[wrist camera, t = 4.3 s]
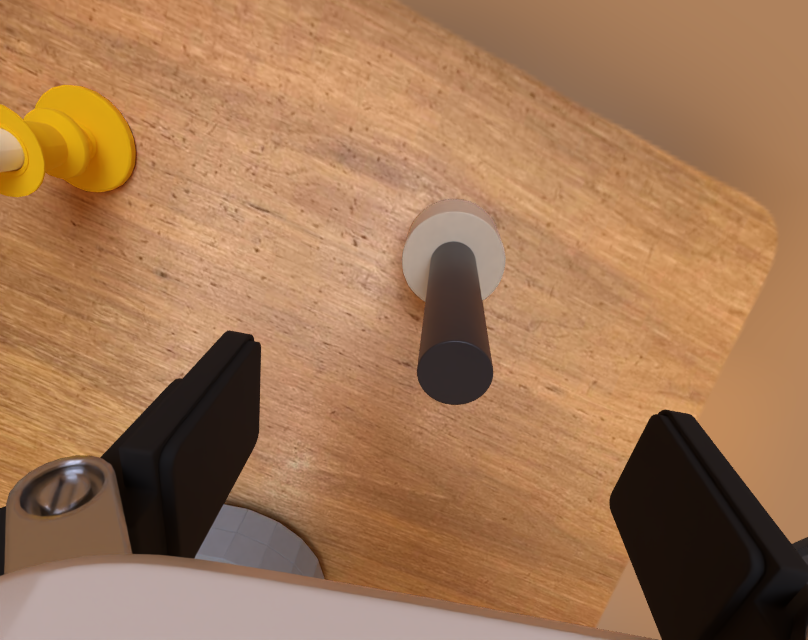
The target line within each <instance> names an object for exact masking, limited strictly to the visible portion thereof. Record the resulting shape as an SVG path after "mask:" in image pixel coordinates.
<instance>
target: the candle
mask: <svg viewBox="0 0 808 640" xmlns="http://www.w3.org/2000/svg"><path fill="white" fill-rule="evenodd" d="M135 158H136V150H135V143H134V138H133V136H132V133H131V130H130V128H129V125H128V124H127V122H126V120H125V119H124V117H123V116H122V114H121V113H120V111H119V110H118V109H117V108H116V107H115V106H114V105H113V104H112V103H111V102H110V101H109V100H108V99H106V98H105V97H103V96H102V95H100V94H99V93H97V92H96V91H93V90H91V89H88V88H85V87H83V86H73V85H62V86H58V87H53V88H51V89H50V90H48V91H47V92H45V93H44V94H43V95H42V96H41V98H40V99H39V100H38V102H37V103H36V106H35V109H34V110H32V111H30V112H29V113H27V115H26V116H25V117H24V119H22V118H21V117H20V116H19V115H18V114H16V113H15V112H13V111H12V110H10V109H9V108H7V107H6V106H4V105H1V104H0V194H3V195H5V196H11V197H21V196H27V195H30V194H31V193H33V192H35V191H36V190H37V189H38V188H39V187H40V185H41V184H42V182H43V179H44V176H45V173H47V174H48V175H51V176H53V177H56V178H62V179H63V180H65V181H66V182H68V183H70V184H71V185H73V186H74V187H77V188H80V189H82V190H85V191H89V192H105V191H110V190H114V189H116V188H118V187H119V186H121V185H123V184H124V183H125V182H126V181H127V180H128V178H129V177H130V176H131V174H132V171H133V169H134V166H135Z"/></svg>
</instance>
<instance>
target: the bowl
mask: <svg viewBox="0 0 808 640" xmlns="http://www.w3.org/2000/svg"><path fill="white" fill-rule="evenodd" d="M194 559H202V560H209V561H215V562H221V563H228V564H234V565H240V566H247V567H253V568H259V569H266V570H272V571H279V572H285V573H291V574H296V575H302V576H308V577H314V578H319V579H324V576H323V573H322V570H321V567H320V564H319V561H318V558H317V557H316V556H315V555H314V553H313V552H312V551H311V550H310V548H309V547H308V546H307V545H306V543H305V542H304V541H303V540H302V539H301V538H300V537H299V536H297V535H296V534H294V533H293V532H292V531H290V530H289V529H288V528H286V527H285V526H283V525H282V524H281V523H279V522H277V521H275V520H273V519H271V518H268V517H266V516H264V515H261V514H259V513H256V512H254V511H252V510H249V509H246V508H241V507H235V506H230V505H225V504H223V506H222V508H221V510H220V512H219V514H218V515H217V517H216V519H215V521H214V523H213V525H212V527H211V528H210V530H209V532H208V534H207V536H206V538H205V540H204V541H203V543H202V545H201V547H200V549H199V551H198V553H197V554H196V556H195V558H194Z"/></svg>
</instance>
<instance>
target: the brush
mask: <svg viewBox="0 0 808 640" xmlns="http://www.w3.org/2000/svg"><path fill="white" fill-rule="evenodd" d="M402 268H403V273H404V276H405V279H406V281H407V283H408V285H409V287H410V288H411V290H412V291H413V292H414V293H415V294H416V295H417V296H418V297H419V298H420V299H422V300H423V301H424V302H425V310H424V318H423V326H422V334H421V342H420V350H419V358H418V366H417V377H418V381H419V383H420V385H421V387H422V389H423V390H424V391H425V392H426V393H427V394H428V395H429V396H430V397H431V398H433V399H435V400H437V401H439V402H441V403H445V404H451V405H460V404H466V403H469V402H472V401H474V400H476V399H478V398H479V397H481V396H482V395H483V394H484V393H485V392H486V391H487V389H488V388H489V386H490V384H491V382H492V378H493V366H492V359H491V353H490V347H489V340H488V334H487V328H486V321H485V315H484V308H483V302H482V301H483V300H484V299H486V298H487V297H488V296H489V295H491V293H492V292H493V291H494V290H495V289H496V287H497V286H498V284H499V283H500V281H501V279H502V276H503V273H504V268H505V251H504V246H503V244H502V241H501V238H500V235H499V233H498V230H497V227H496V225H495V223H494V221H493V219H492V218H491V217H490V215H489V214H488V213H487V212H486V211H485V210H484V209H482V208H481V207H480V206H478V205H476V204H474V203H472V202H469V201H465V200H460V199H448V200H443V201H439V202H436V203H434V204H432V205H430V206H429V207H427V208H426V209H424V210H423V211H422V212H421V213H420V214H419V215H418V216H417V217H416V219H415V220H414V222H413V223H412V225H411V228H410V230H409V233H408V236H407V239H406V243H405V246H404V249H403V254H402Z"/></svg>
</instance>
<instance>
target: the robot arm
mask: <svg viewBox="0 0 808 640" xmlns="http://www.w3.org/2000/svg"><path fill="white" fill-rule="evenodd" d="M260 369H261V345H260V343H259V342H255V341H254V337H253V336H252V335H251V334H245V333H240V332H234V331H226V332H225V333H224V334H223V335H222V336H221V337H220V338H219V339H218V341H217V342H216V343H215V344H214V345H213V346H212V347H211V348H210V349H209V350H208V351H207V353H206V354H205V355H204V356H203V357H202V358H201V359H200V360H199V361H198V362H197V363H196V365H195V366H194V367H193V368H192V369H191V370H190V371H189V372H188V373H187V374H186V375H185V376H184V378H183V379H180V378H179V379H175V380H174V381H173V382H172V383H171V384H170V385H169V386H168V387H167V388H166V389H165V390H164V391H163V392H162V393H161V394H160V395H159V396H158V397H157V398H156V399H155V400H154V401H153V403H152V404H151V405H150V406H149V407H148V408H147V409H146V410H145V411H144V412H143V413H142V414H141V415H140V416H139V417H138V418H137V419H136V421H135V422H134V423H133V424H132V425H131V426H130V427H129V428H128V429H127V430H126V431H125V432H124V433H123V434H122V435H121V436H120V437H119V438H118V440H117V441H116V442H115V443H114V444H113V445H112V446H111V447H110V448H109V449H108V450H107V451H106V452H105V453H104V454H103V455H102V456H101V458H98V457H94V456H71V457H65V458H60V459H57V460H55V461H52V462H49V463H46V464H44V465H42V466H40V467H38V468H36V469H34V470H33V471H31V472H29V473H28V474H27V475H26V476H24V477H23V478H22V479H21V480H19V481H18V482H17V484H16V485H15V486H14V488H13V489H12V490H11V491H10V493H9V496H8V500H7V503H6V506H5V507H2V508H0V640H657V639H651V638H646V637H641V636H635V635H630V634H624V633H619V632H614V631H609V630H603V629H598V628H592V627H587V626H582V625H576V624H571V623H566V622H560V621H555V620H549V619H544V618H538V617H533V616H527V615H522V614H516V613H511V612H505V611H500V610H494V609H489V608H483V607H477V606H472V605H466V604H461V603H455V602H450V601H444V600H439V599H433V598H427V597H422V596H416V595H411V594H405V593H399V592H394V591H388V590H382V589H376V588H371V587H365V586H359V585H354V584H348V583H342V582H336V581H331V580H325V579H319V578H314V577H308V576H302V575H296V574H291V573H285V572H279V571H272V570H266V569H259V568H253V567H247V566H240V565H234V564H228V563H221V562H215V561H209V560H202V559H194V558H195V556H196V554H197V553H198V551H199V549H200V547H201V545H202V543H203V541H204V540H205V538H206V536H207V534H208V532H209V530H210V528H211V527H212V525H213V523H214V521H215V519H216V517H217V515H218V514H219V512H220V510H221V508H222V506H223V504H224V502H225V501H226V499H227V497H228V495H229V493H230V491H231V490H232V488H233V486H234V484H235V482H236V480H237V478H238V477H239V475H240V473H241V471H242V469H243V467H244V465H245V464H246V462H247V460H248V458H249V456H250V454H251V452H252V451H253V449H254V447H255V445H256V442H257V439H258V434H259V413H260ZM610 509H611V513H612V515H613V518H614V520H615V523H616V525H617V528H618V530H619V533H620V535H621V538H622V540H623V543H624V545H625V548H626V550H627V553H628V555H629V558H630V560H631V563H632V565H633V567H634V570H635V573H636V575H637V578H638V580H639V583H640V585H641V588H642V590H643V593H644V595H645V598H646V600H647V603H648V605H649V608H650V611H651V613H652V616H653V618H654V621H655V623H656V626H657V628H658V631H659V633H660V636H661V638H662V640H808V584H807V582H808V565H807V564H806V562H805V561H804V560H803V558H802V557H801V556H800V554H799V553H798V552H797V551H796V549H795V548H794V547H793V545H792V544H791V543H790V541H789V540H788V539H787V538H786V536H785V535H784V534H783V532H782V531H781V530H780V529H779V527H778V526H777V525H776V523H775V522H774V521H773V519H772V518H771V517H770V516H769V514H768V513H767V512H766V511H765V509H764V508H763V506H762V505H761V504H760V503H759V501H758V500H757V499H756V497H755V496H754V495H753V493H752V492H751V491H750V489H749V488H748V487H747V486H746V484H745V483H744V482H743V481H742V479H741V478H740V476H739V475H738V474H737V473H736V471H735V470H734V469H733V467H732V466H731V465H730V463H729V462H728V461H727V460H726V458H725V457H724V456H723V454H722V453H721V452H720V451H719V449H718V448H717V447H716V445H715V444H714V443H713V441H712V440H711V439H710V437H709V436H708V435H707V434H706V432H705V431H704V430H703V428H702V427H701V426H700V425H699V423H698V422H697V421H696V419H695V418H694V417H693V416H692V415H690V414H686V413H681V412H675V411H670V410H662V411H661V412H659V413H658V414H655V415H653V416H651V418H650V419H649V421H648V423H647V425H646V427H645V429H644V431H643V433H642V435H641V437H640V439H639V441H638V443H637V445H636V446H635V448H634V450H633V452H632V454H631V456H630V458H629V460H628V462H627V464H626V466H625V468H624V470H623V472H622V474H621V476H620V478H619V480H618V482H617V484H616V486H615V487H614V489H613V491H612V493H611V496H610Z"/></svg>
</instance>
